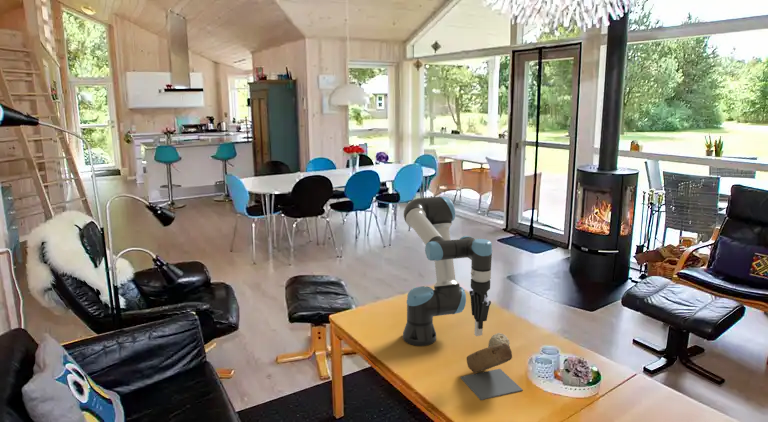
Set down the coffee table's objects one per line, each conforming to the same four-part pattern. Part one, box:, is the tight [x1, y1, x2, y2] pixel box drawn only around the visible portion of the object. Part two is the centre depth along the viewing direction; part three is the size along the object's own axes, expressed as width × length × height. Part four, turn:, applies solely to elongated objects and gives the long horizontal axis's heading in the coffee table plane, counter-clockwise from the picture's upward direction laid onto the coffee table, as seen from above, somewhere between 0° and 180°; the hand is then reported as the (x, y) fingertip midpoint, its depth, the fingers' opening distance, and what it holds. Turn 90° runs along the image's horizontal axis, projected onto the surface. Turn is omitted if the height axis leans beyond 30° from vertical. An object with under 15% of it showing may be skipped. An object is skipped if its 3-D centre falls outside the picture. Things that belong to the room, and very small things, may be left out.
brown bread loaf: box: [466, 343, 513, 374], centre depth 206 cm, size 11×8×20 cm
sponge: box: [487, 332, 511, 348], centre depth 230 cm, size 9×10×10 cm
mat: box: [459, 368, 523, 401], centre depth 204 cm, size 16×18×1 cm
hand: (478, 334), depth 211 cm, fingers closed
